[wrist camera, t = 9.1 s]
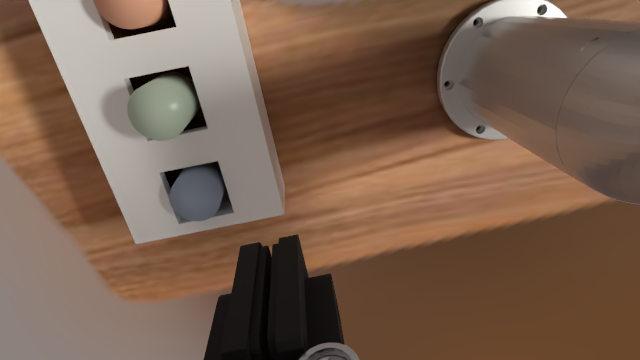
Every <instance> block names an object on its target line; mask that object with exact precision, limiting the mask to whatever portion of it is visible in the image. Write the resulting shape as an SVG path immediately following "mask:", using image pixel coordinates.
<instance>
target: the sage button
mask: <svg viewBox="0 0 640 360" xmlns="http://www.w3.org/2000/svg"><path fill="white" fill-rule="evenodd" d="M200 105H201V104H200V101H199V98H198V95H197V92H196V88H195V85H194V82H193V81H192V80H191V79H190V78H189V77H187V76H185V75H183V74H180V73H176V72H169V73H164V74H162V75H160V76H158V77H156V78H155V79H153V80H151V81H150V82H148V83H146V84H144V85H143V86H141V87H139V88H138V89H136V90H135V91H134V92H133V93H132V95H131V96H130V98H129V100H128V104H127V113H128V117H129V120H130V122H131V124H132V125H133V127H134V128H135V129H136V130H137V131H138V132H139V133H140V134H142V135H143V136H145V137H147V138H149V139H152V140H156V141H166V140H170V139H173V138H175V137H177V136H178V135H179V134H180V133H181V132H182V131H183V130H184V128H185V127H186V126H187V125H188V124H189V122H190V121H191V120H192V119H193V117H194V116H195V115H196V114H197V112H198V110H199V108H200Z"/></svg>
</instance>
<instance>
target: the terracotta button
mask: <svg viewBox="0 0 640 360" xmlns="http://www.w3.org/2000/svg"><path fill="white" fill-rule="evenodd" d="M93 2H94V4H95V7H96V8H97V10H98V12H99V13H100V14H101V15H102V16H103V18H104V19H106V20H107V21H108V22H109V23H111V24H113V25H114V26H117V27H119V28H123V29H136V28H142V27H147V26H153V25H158V24H161V23H163V22H165V21H166V20H167V19H169V17H170V16H171V14H172V11H171V8H170V5H169V1H168V0H93Z"/></svg>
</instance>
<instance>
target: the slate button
mask: <svg viewBox="0 0 640 360" xmlns="http://www.w3.org/2000/svg"><path fill="white" fill-rule="evenodd" d="M225 188H226V185H225V182H224V179H223V175H222V172H221V169H220V166H219V163H218V161H216V162H211V163H206V164H201V165H196V166H191V167H186V168H183V170H182V171H181V173H180V175H179V176H178V178H177V179H176V181H175V183H174V184H173V186H172V188H171V190H170V193H169V201H170V204H171V207H172V208H173V210H174V211H175V212H176V213H177V214H178V215H179V216H181V217H182V218H184V219H187V220H190V221H204V220H207V219H209V218H211V217H212V216H214V215H215V214H216V212H217V211H218V209H219V207H220V204H221V201H222V198H223V195H224V192H225Z"/></svg>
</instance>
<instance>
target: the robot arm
mask: <svg viewBox="0 0 640 360" xmlns="http://www.w3.org/2000/svg"><path fill="white" fill-rule="evenodd" d="M538 8H539V10H538V12H537V9H538ZM474 20H476V24H475V25H473V21H474ZM446 81H448V84H447V85H446V86H444V84H445V82H446ZM437 90H438V95H439V99H440V102H441V104H442V107H443V109H444V111H445V113H446V114H447V115H448V117H449V118H450V119H451V121H452V122H453V123H455V124H456V125H457V126H458V127H459V128H461V129H462V130H464V131H465V132H467V133H468V134H470V135H473V136H475V137H478V138H483V139H488V140H503V139H508V138H509V139H511V140H513V141H514V142H516V143H518V144H519V145H521V146H522V147H524V148H526V149H527V150H529V151H531V152H532V153H534V154H535V155H537V156H539V157H540V158H542V159H544V160H545V161H547V162H549V163H550V164H552V165H553V166H555V167H557V168H558V169H560V170H562V171H563V172H565V173H566V174H568V175H570V176H571V177H573V178H575V179H576V180H578V181H580V182H581V183H584V184H585V185H587V186H588V187H590V188H592V189H593V190H595V191H597V192H599V193H601V194H603V195H605V196H607V197H610V198H613V199H616V200H619V201H623V202H628V203H634V204H640V22H628V21H611V20H593V19H576V18H568V17H567V16H566V15H565V14H564V13H563V11H562V10H561V9H560V8H558V7H557V6H555V5H554V4H553V3H551V2H550V1H547V0H493V1H491V2H488V3H486V4H484V5H482V6H481V7H479V8H478V9H476V10H474V11H473V12H472V13H470V14H469V15H468V16H467V17H466V18H465V19H464V20H463V21H462V22H461V23H460V24H459V25H458V26H457V28H456V29H455V30H454V32H453V33H452V34H451V36H450V37H449V39H448V41H447V43H446V45H445V47H444V49H443V52H442V55H441V57H440V60H439V65H438V71H437ZM478 126H479V127H478ZM477 127H478V128H477ZM476 128H477V129H476ZM204 360H359V358H358V357H357V355H356V353H355V352H354V351H353V350H352V349H351V348H349V347H348V346H346V345H345V344H344V338H343V332H342V326H341V320H340V315H339V310H338V305H337V299H336V295H335V290H334V285H333V281H332V276H331V274H326V275H321V276H316V277H311V278H309V277H308V273H307V269H306V265H305V261H304V257H303V253H302V249H301V245H300V241H299V237H298V235H293V236H288V237H283V238H279V243H278V244H273V248H272V257H271V253H270V250H269V247H268V246H263V247H262V245H261V243H260V242H258V243H253V244H248V245H243V246H241V247H240V252H239V257H238V262H237V268H236V273H235V278H234V283H233V288H232V293H231V294H226V295H221V296H220V297H219V298H218V302H217V305H216V310H215V314H214V318H213V323H212V327H211V331H210V336H209V340H208V344H207V348H206V352H205V357H204Z"/></svg>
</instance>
